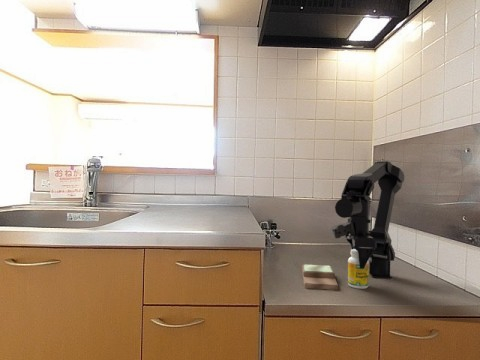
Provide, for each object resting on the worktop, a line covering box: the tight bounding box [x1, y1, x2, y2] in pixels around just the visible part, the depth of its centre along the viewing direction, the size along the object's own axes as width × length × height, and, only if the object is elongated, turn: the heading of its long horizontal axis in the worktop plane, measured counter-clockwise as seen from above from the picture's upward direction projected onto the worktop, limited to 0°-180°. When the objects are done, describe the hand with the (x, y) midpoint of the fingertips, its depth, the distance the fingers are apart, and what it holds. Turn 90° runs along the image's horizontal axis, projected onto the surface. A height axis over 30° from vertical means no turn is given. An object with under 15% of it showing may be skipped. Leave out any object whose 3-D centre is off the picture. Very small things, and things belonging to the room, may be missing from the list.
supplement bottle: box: [347, 249, 370, 290], centre depth 106 cm, size 6×6×11 cm
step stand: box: [301, 264, 339, 291], centre depth 111 cm, size 10×16×3 cm, turn 172°
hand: (358, 264), depth 106 cm, fingers open, 9 cm apart
